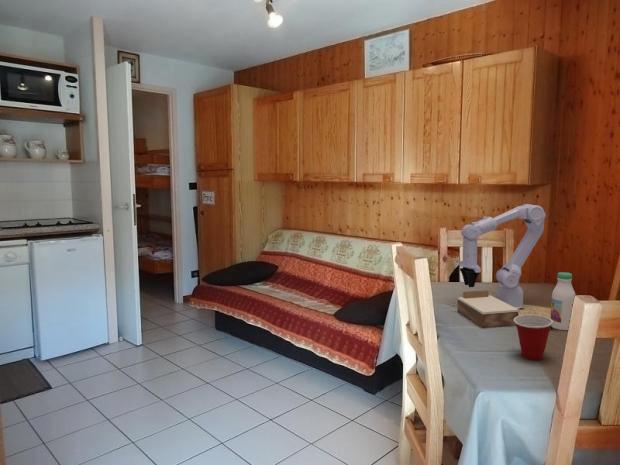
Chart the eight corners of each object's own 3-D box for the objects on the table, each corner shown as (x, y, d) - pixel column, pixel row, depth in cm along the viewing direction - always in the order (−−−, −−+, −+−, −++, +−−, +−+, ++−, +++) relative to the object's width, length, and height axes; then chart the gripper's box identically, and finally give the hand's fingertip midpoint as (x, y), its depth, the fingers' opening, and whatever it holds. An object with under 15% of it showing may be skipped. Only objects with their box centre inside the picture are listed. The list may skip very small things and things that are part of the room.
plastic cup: (505, 350, 143) (506, 314, 141) (537, 348, 144) (539, 312, 142) (524, 365, 132) (525, 326, 131) (559, 362, 133) (561, 323, 131)
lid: (489, 296, 184) (490, 289, 184) (518, 311, 164) (518, 303, 164) (457, 299, 182) (457, 291, 182) (482, 314, 163) (482, 305, 162)
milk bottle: (572, 324, 164) (574, 271, 162) (576, 331, 157) (579, 276, 154) (548, 323, 167) (550, 270, 164) (552, 330, 159) (554, 275, 157)
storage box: (489, 309, 185) (489, 297, 184) (518, 325, 165) (518, 312, 164) (457, 311, 183) (457, 299, 182) (482, 328, 163) (482, 315, 163)
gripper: (452, 251, 191) (452, 282, 193) (469, 257, 177) (468, 291, 179) (468, 250, 192) (468, 281, 194) (485, 256, 178) (485, 289, 180)
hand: (469, 285), depth 186 cm, fingers open, 3 cm apart
